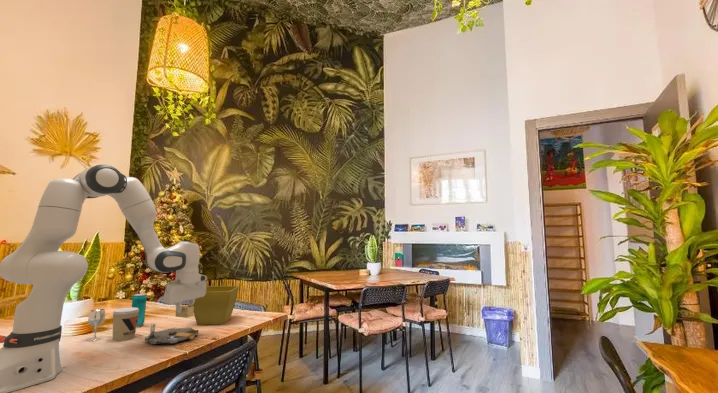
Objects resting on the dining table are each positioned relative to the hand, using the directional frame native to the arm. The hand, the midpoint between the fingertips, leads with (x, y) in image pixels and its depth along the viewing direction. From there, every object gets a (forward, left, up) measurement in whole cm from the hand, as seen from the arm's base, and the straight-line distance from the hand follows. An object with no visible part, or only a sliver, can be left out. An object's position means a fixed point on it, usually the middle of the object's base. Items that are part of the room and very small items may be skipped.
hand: (184, 311), depth 141 cm
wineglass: (-11, +35, -12) cm, 39 cm away
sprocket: (0, +5, -12) cm, 13 cm away
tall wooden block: (0, 0, -2) cm, 2 cm away
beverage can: (+10, +37, -12) cm, 40 cm away
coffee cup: (-6, +25, -12) cm, 29 cm away
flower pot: (+29, +8, -12) cm, 32 cm away
